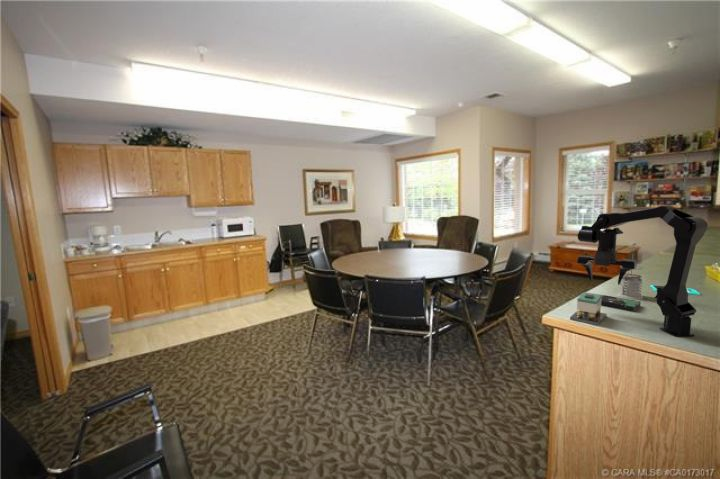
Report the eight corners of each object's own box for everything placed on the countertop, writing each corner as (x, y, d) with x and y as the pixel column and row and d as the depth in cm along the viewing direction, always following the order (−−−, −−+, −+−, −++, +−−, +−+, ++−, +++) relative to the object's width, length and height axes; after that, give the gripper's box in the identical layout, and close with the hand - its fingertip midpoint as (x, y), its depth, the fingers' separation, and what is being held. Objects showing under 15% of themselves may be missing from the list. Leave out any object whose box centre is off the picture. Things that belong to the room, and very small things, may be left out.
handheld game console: (700, 296, 152) (701, 293, 152) (654, 292, 160) (654, 289, 160) (692, 290, 160) (693, 288, 160) (649, 287, 168) (649, 284, 168)
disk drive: (591, 305, 146) (634, 313, 134) (591, 299, 145) (635, 306, 134) (598, 300, 152) (640, 307, 141) (599, 294, 152) (641, 300, 140)
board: (583, 302, 135) (583, 290, 135) (601, 305, 131) (601, 293, 131) (576, 310, 128) (577, 297, 127) (595, 313, 123) (596, 300, 123)
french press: (648, 297, 152) (653, 242, 148) (632, 300, 147) (636, 245, 144) (624, 291, 161) (628, 240, 157) (609, 295, 157) (612, 242, 153)
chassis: (580, 310, 138) (580, 301, 137) (606, 316, 131) (607, 306, 130) (570, 319, 129) (570, 309, 128) (597, 325, 122) (598, 315, 122)
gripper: (573, 245, 134) (572, 282, 136) (632, 249, 121) (629, 291, 123) (582, 241, 142) (580, 277, 144) (638, 245, 128) (635, 285, 130)
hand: (604, 282), depth 135 cm, fingers open, 9 cm apart
